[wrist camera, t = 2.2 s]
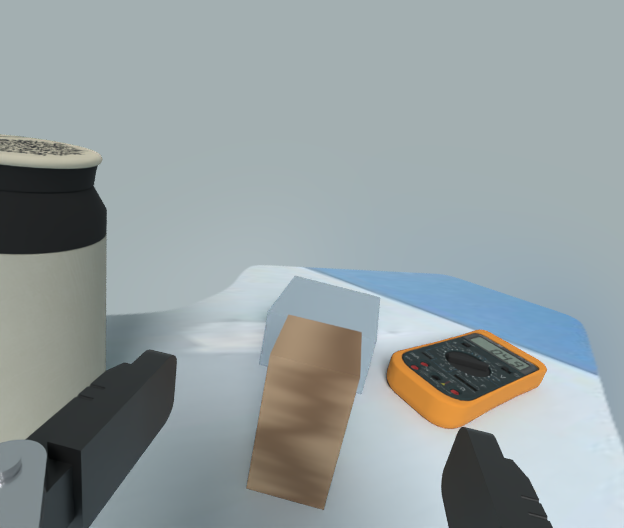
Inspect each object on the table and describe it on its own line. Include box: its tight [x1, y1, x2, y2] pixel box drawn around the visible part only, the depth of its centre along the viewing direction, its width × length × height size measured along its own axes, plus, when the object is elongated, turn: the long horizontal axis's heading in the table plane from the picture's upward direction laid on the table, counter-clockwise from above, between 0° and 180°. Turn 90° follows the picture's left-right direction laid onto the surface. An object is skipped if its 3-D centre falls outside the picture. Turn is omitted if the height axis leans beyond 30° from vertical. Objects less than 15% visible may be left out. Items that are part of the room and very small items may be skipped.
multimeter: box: [387, 330, 547, 429], centre depth 39 cm, size 9×18×3 cm, turn 124°
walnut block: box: [246, 314, 362, 510], centre depth 24 cm, size 5×5×10 cm
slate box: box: [259, 276, 380, 394], centre depth 39 cm, size 10×10×6 cm
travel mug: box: [0, 134, 107, 443], centre depth 23 cm, size 8×8×18 cm
